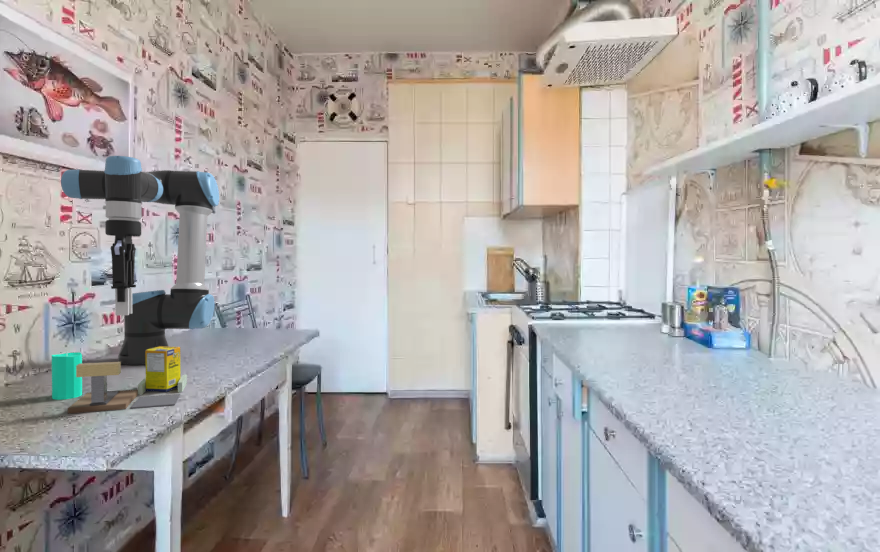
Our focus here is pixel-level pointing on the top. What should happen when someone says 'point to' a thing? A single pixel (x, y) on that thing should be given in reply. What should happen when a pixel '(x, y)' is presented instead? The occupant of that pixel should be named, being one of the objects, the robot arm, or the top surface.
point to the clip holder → (181, 385)
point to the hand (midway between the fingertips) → (124, 314)
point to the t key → (98, 377)
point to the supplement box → (162, 368)
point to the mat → (156, 401)
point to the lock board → (113, 402)
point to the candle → (66, 376)
